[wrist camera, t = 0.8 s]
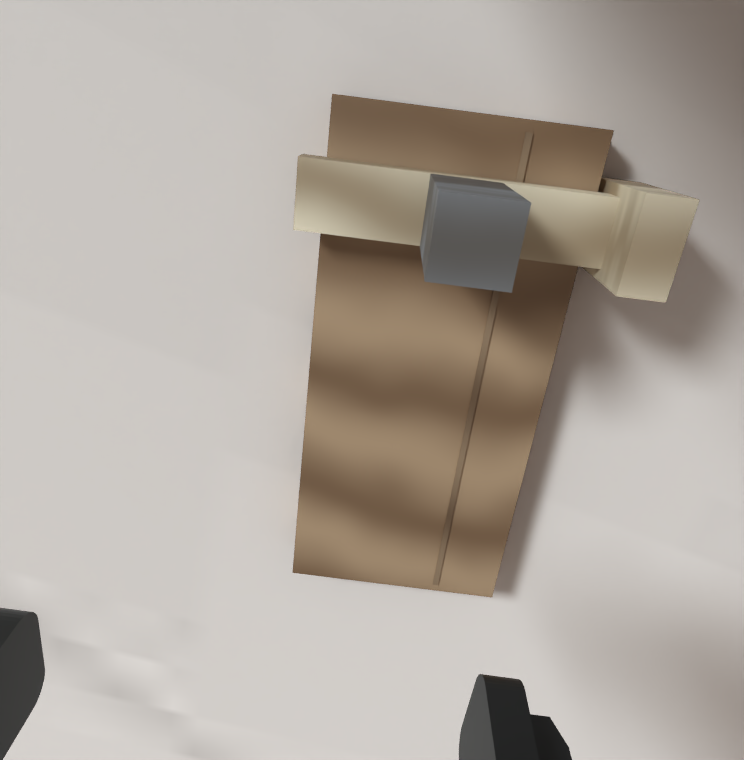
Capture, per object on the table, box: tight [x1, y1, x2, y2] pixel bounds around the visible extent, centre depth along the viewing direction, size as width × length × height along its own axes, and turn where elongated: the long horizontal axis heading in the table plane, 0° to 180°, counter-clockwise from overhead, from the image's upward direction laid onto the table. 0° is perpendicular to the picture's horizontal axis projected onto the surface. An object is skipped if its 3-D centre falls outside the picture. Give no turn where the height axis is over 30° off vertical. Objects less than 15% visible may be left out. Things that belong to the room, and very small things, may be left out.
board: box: [293, 94, 614, 597], centre depth 32 cm, size 26×12×2 cm, turn 173°
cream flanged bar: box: [293, 154, 699, 303], centre depth 24 cm, size 4×15×10 cm, turn 83°
